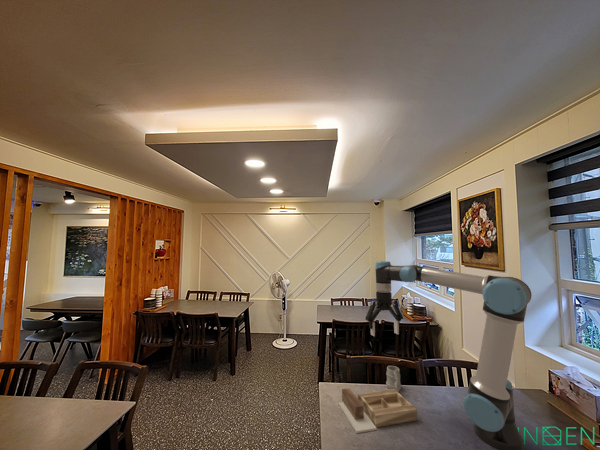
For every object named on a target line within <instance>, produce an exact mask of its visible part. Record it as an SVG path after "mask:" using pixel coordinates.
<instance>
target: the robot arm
mask: <svg viewBox="0 0 600 450" xmlns="http://www.w3.org/2000/svg"><path fill="white" fill-rule="evenodd" d="M392 281H394V282H401V283H402V282H403V283H414V282H415V281H417V282H422V283H427V284H432V285H437V286H440V287H446V288H451V289H455V290H460V291H465V292H469V293H473V294H474V293H475V294H479V295H482V298H483V300H484V301H483V306H482V311H483V312H484V314H485V315H486V317H485V318H486V319H485V323H484V324H485V325H484V330H483V335H482V340H481V346H480V352H479V356H478V357H479V358H478V362H477V368H476V369H477V370H476V372H475V375H472V376H471V377H470V380H469V384H468V389H467V394H465V396H464V397H463V402H462V404H463V406H462V407H463V408H464V409H463V410H464V412H465V414H466V415H467V416H468V419H469V420H470V421H471V422H472V423H473V430H474V433H475V434H476V436H477V437H478V438H479V439H481V440H482V441H483V442H484V443H486V444H488V445H489V446H491V447H494V448H496V449H498V450H524V442H523V441H524V440H523V438H522V436H521V434H520V432H519V428H518V425H517V423H516V416H515V415H516V414H515V403H514V388H513V383H512V382H511V381H510V380H509V379H508V377H509V371H510V367H511V361H512V355H513V349H514V344H515V340H516V339H515V338H516V334H517V333H516V332H517V327H518V325H519V324H522V323H524V322H525V319H526V318H525V317H526V314H527V313H526V312H527V307H528V304H529V303H530V302H531V300H532V290H531V289H530V287H529V285H528V284H527V283H526V282H524V281H523V280H521V279H519V278H517V277H513V276H497V275H491V274H488V275H486V276H482V275H481V276H480V275H474V274H469V273H465V272H464V273H462V272H456V271H451V270H444V269H438V268H433V267H432V268H431V267H425V266H421V265H418V264H412V265H411V264H410V265H392V264H391V261H388V260H378V261H376V262H375V291H376V292H375V298H376V301H373V300H371V301H370V306H369V309H368V311H367V313H366V316H365V321H368V329H370V335H371V336H373V337H376V328H375V326H376V323H375V322H374V321H375V320H376V318H377V317H378V315H379V314H380V312H382V311H389V313H390V314H391V315H392V316H393V318H394V319H393V331H394V332H393V333H394V334H396V335H400V331H399V330H400V325H401V321H402V320H403V319H404V317H403V315H402V312H401V310H400V308H399V306H398V302H397V300H395V299H392Z"/></svg>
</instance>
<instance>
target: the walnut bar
mask: <svg viewBox="0 0 600 450" xmlns="http://www.w3.org/2000/svg"><path fill="white" fill-rule="evenodd" d="M341 400H342V401H341V402H344V404H345V405H346V407H347V408H348V410H349V411H350V413H351V414H352V416H353V417H354V419H355V420H357V419H364V406H363V405H362V403H361V402H360V401H359V400H358V396H356V395H355V393H354V392H353V391H352V389H351V388H342V389H341Z"/></svg>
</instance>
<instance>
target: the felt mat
mask: <svg viewBox="0 0 600 450" xmlns="http://www.w3.org/2000/svg"><path fill="white" fill-rule="evenodd" d="M338 407H339V408H340V409H341V411H342V413H343V414H344V416H345V417H346V419H347V420H348V422H349V423H350V425H351V427H352V428H353V430H354V431H355V433H356V434H361V433H367V432H373V431H377V428H378V427H376V426H375V425H374V424H373V423H372V421H371V420H370V419H369V417H368V416H367V415H366V413H365V412H364V419H357V420H355V419H354V417H353V416H352V414H351V413H350V411H349V410H348V408H347V407H346V405H345V404H344V402H343V401H340V402H338Z"/></svg>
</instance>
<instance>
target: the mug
mask: <svg viewBox="0 0 600 450" xmlns="http://www.w3.org/2000/svg"><path fill="white" fill-rule="evenodd" d="M400 371H401V370H400V368H399V367H397V366H395V365H388V366H387V367H386V381H385V384H386V388H387V390H390V389H395V390H396V391H397V392H398V393H399V392H400V391H401V388H402V384H401V373H400Z"/></svg>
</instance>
